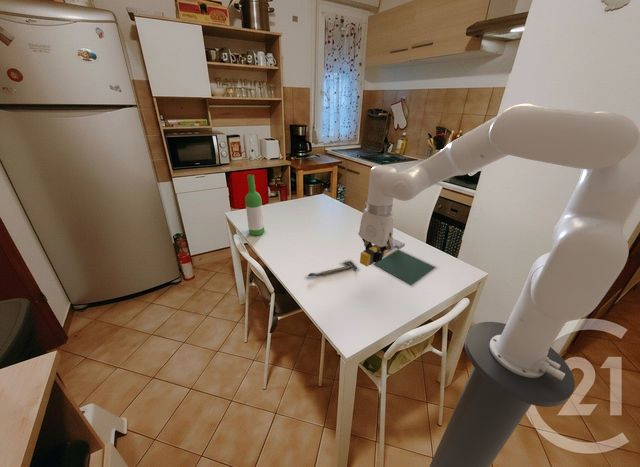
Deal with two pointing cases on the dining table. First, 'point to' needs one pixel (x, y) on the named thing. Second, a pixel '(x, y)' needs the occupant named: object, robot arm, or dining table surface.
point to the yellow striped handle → (369, 254)
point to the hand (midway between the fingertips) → (373, 258)
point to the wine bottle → (254, 209)
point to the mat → (404, 266)
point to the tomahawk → (334, 270)
